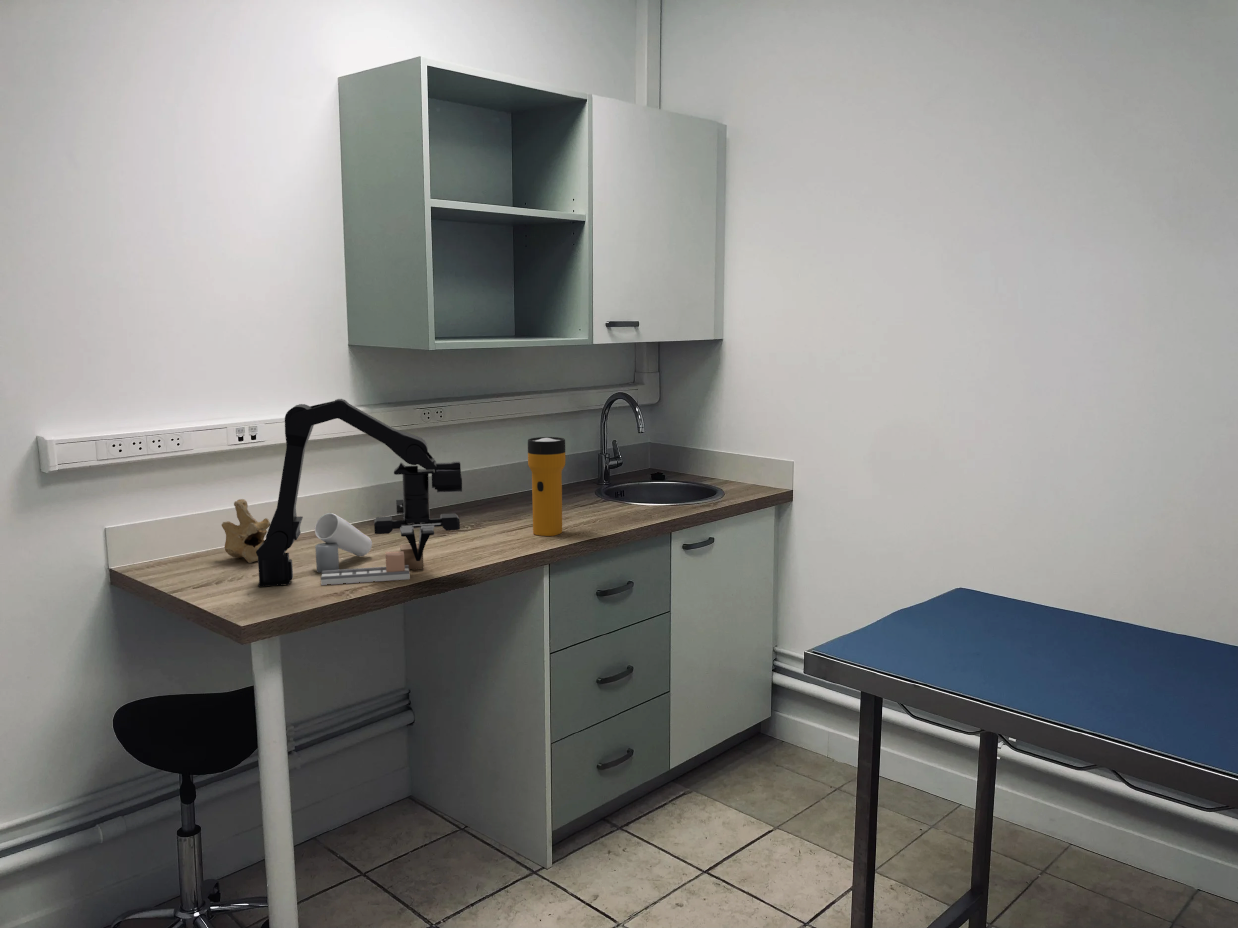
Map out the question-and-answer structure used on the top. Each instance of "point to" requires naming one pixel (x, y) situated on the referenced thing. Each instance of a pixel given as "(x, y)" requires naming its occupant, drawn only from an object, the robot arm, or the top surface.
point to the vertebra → (244, 533)
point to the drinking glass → (342, 534)
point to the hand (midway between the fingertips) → (418, 560)
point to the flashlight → (546, 483)
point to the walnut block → (411, 557)
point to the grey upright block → (327, 557)
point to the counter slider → (395, 561)
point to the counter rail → (362, 575)
